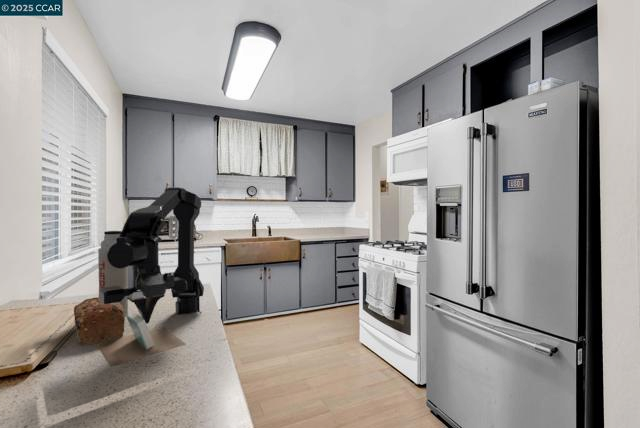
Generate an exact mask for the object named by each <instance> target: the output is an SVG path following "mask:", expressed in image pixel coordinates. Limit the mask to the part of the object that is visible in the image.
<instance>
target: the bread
mask: <svg viewBox="0 0 640 428" xmlns="http://www.w3.org/2000/svg"><path fill="white" fill-rule="evenodd" d="M73 315H74V325H75V333H76V338H77V344H78V346H79V347H82V346H87V345H90V344H91V345H92V344H95V343H96V344H97V343H101V342H106V341H110V340H115V339H119V338H123V337H124V332H125V321H126V318H125V317H126V316H124V309H123V307H122V306H121V304H120V303H118V302H116V303H110V304H104V303H103V302H101V301H100V300H99V296H98V297H92V298H87V299H84V300H83V301H82V302H80V303H78V304H75V306H74V307H73Z"/></svg>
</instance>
